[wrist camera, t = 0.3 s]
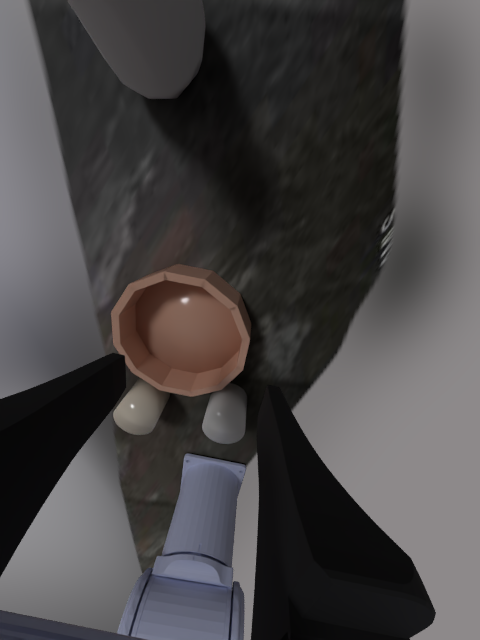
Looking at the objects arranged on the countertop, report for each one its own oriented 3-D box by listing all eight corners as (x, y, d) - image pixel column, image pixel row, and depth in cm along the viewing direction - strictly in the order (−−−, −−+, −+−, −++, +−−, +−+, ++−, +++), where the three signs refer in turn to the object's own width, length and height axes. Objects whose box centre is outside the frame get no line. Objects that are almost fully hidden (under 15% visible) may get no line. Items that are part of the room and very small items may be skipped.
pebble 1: (169, 407, 25) (154, 438, 22) (135, 400, 25) (114, 430, 22) (171, 380, 24) (155, 409, 20) (134, 373, 24) (112, 400, 20)
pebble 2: (243, 414, 25) (240, 447, 21) (208, 407, 25) (200, 439, 21) (250, 387, 23) (248, 417, 20) (213, 379, 23) (204, 409, 20)
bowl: (237, 383, 23) (234, 405, 20) (133, 362, 23) (116, 381, 20) (261, 280, 18) (261, 290, 16) (129, 254, 18) (107, 259, 16)
